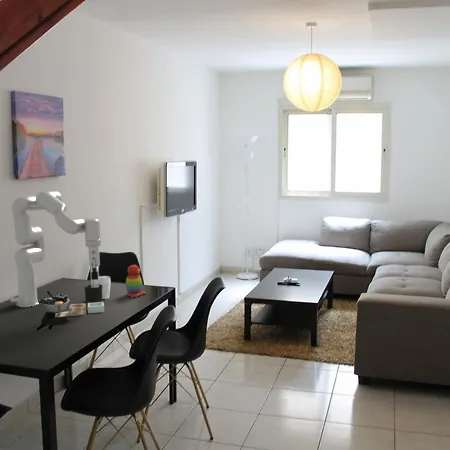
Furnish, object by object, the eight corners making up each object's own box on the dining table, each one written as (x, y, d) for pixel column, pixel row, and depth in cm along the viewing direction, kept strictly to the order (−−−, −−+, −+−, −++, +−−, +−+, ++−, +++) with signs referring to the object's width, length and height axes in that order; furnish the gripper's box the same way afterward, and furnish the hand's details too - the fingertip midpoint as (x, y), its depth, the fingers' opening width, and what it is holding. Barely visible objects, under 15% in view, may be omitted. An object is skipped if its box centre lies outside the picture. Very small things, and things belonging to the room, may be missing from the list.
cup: (112, 299, 313) (111, 278, 312) (96, 301, 310) (95, 279, 309) (109, 295, 322) (108, 275, 320) (93, 297, 318) (92, 276, 317)
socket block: (54, 318, 276) (54, 306, 275) (56, 313, 285) (55, 302, 284) (86, 316, 279) (85, 304, 279) (86, 311, 288) (85, 300, 287)
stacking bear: (136, 298, 315) (135, 267, 313) (122, 296, 319) (120, 266, 317) (147, 294, 324) (146, 264, 322) (133, 292, 329) (131, 262, 327)
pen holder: (83, 303, 306) (82, 285, 305) (100, 300, 310) (99, 283, 309) (87, 306, 298) (86, 288, 297) (104, 304, 302) (104, 286, 301)
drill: (91, 287, 283) (90, 264, 282) (91, 286, 287) (90, 263, 285) (99, 287, 284) (98, 264, 282) (99, 285, 288) (98, 262, 286)
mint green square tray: (88, 314, 282) (87, 306, 282) (88, 310, 290) (87, 303, 289) (104, 313, 284) (103, 305, 283) (103, 309, 292) (103, 302, 291)
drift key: (54, 312, 278) (54, 303, 278) (55, 310, 282) (55, 301, 281) (63, 311, 279) (62, 303, 279) (63, 309, 283) (63, 301, 282)
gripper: (100, 245, 276) (102, 281, 278) (100, 240, 292) (102, 275, 294) (85, 245, 274) (87, 282, 276) (85, 241, 290) (87, 276, 292)
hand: (94, 278), depth 285 cm, fingers closed on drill, 4 cm apart
